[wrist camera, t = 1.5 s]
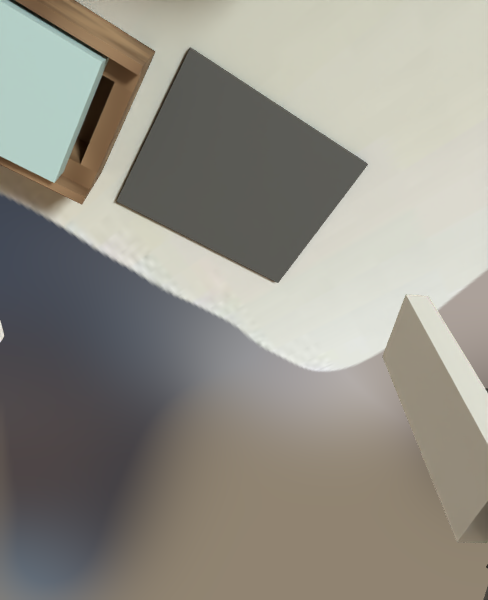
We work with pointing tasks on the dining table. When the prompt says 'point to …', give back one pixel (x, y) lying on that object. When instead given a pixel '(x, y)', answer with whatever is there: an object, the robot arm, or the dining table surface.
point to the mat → (237, 170)
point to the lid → (43, 89)
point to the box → (108, 97)
